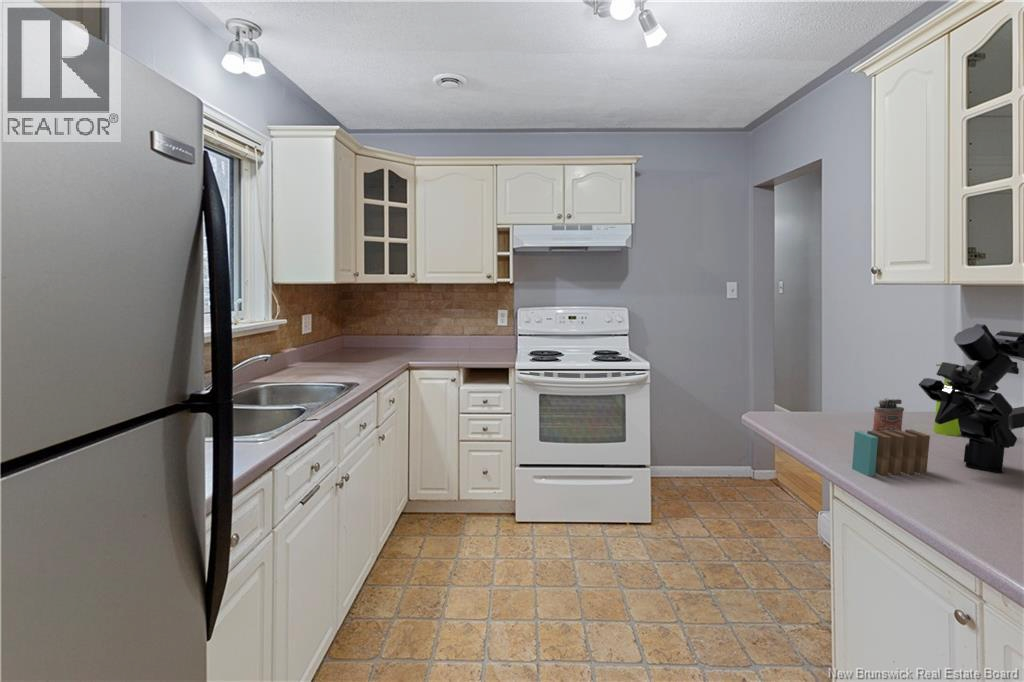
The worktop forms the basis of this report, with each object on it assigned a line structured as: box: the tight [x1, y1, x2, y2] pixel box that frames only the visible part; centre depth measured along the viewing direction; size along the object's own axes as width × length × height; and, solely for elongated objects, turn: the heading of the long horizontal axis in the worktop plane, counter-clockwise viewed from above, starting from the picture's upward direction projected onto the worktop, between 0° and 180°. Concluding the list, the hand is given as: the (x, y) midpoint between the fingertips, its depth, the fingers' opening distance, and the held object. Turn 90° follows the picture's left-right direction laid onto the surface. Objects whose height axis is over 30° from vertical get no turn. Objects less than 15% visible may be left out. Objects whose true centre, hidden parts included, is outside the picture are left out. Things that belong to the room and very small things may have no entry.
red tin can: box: [871, 397, 905, 433], centre depth 154 cm, size 8×3×10 cm, turn 92°
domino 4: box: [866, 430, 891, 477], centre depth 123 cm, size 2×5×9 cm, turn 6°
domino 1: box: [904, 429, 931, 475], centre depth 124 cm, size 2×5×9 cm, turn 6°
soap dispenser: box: [933, 363, 961, 437], centre depth 154 cm, size 6×7×20 cm
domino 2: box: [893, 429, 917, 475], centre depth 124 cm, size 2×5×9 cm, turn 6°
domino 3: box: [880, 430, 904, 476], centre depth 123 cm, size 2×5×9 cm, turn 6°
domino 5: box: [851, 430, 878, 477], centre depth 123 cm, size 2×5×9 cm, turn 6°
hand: (937, 422), depth 124 cm, fingers closed
